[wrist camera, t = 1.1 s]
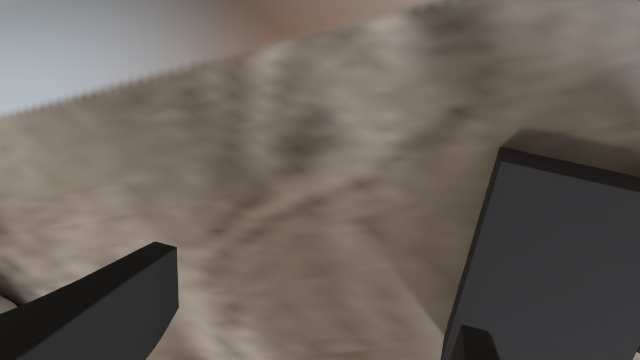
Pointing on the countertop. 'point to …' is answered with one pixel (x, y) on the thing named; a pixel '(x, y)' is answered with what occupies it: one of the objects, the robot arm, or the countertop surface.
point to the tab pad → (553, 263)
